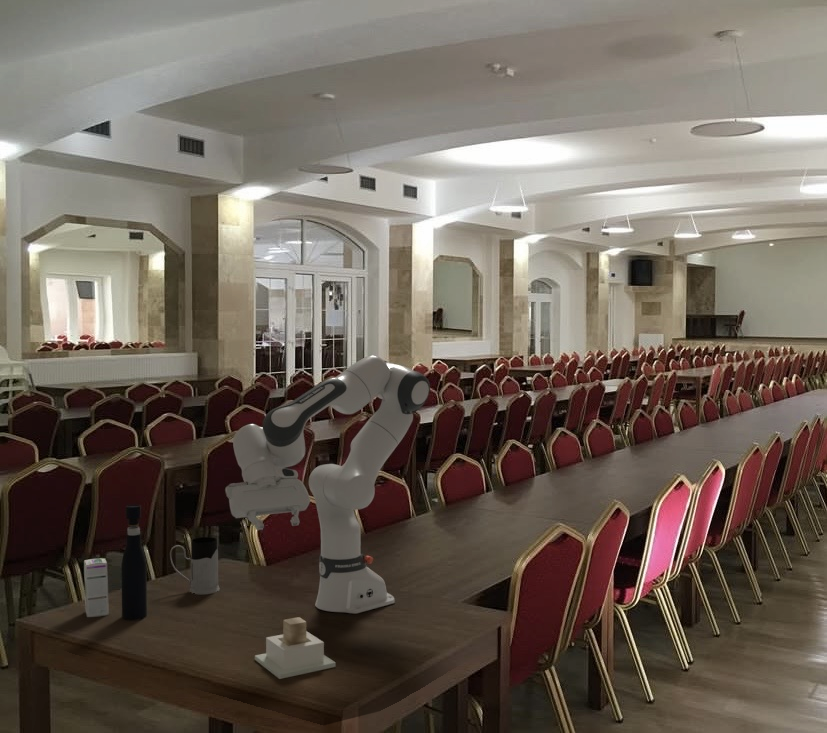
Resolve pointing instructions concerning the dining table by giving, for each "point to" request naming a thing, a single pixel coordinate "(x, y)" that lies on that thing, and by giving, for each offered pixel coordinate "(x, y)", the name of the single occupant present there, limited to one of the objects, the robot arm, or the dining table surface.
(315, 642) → the white socket base
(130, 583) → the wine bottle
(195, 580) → the grey mug
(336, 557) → the robot arm
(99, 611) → the syrup box
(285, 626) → the tan tall wooden block
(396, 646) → the dining table surface
